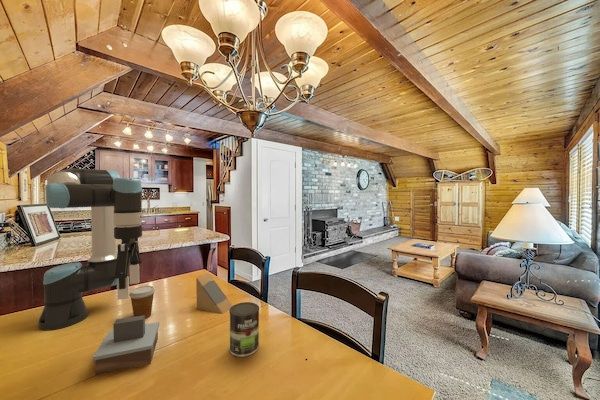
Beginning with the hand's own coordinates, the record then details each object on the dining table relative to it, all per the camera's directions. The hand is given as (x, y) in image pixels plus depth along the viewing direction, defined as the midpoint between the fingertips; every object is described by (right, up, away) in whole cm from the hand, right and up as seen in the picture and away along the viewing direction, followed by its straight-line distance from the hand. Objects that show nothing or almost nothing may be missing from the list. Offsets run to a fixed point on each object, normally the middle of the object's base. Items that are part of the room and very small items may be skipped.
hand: (129, 290), depth 80 cm
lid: (0, -17, +1) cm, 17 cm away
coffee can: (+36, -23, +7) cm, 43 cm away
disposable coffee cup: (-13, -22, +28) cm, 38 cm away
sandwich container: (+15, -22, +37) cm, 46 cm away
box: (0, -23, +1) cm, 23 cm away
